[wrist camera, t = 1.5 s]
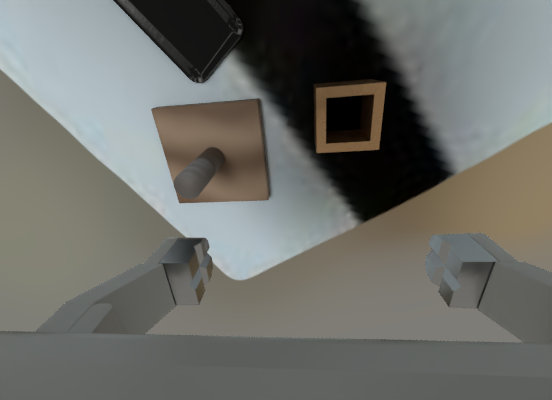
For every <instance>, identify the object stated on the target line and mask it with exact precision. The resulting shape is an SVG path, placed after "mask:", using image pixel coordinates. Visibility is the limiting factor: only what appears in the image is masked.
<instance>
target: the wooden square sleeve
mask: <svg viewBox="0 0 552 400" xmlns="http://www.w3.org/2000/svg"><path fill="white" fill-rule="evenodd" d="M385 89H386V82H383V81H379V80H374V79H366V80H354V81H343V82H331V83H320V84H314V140H315V146H316V152H317V153H328V152H346V151H365V150H379V145H380V136H381V127H382V117H383V108H384V99H385ZM358 95H362V103H361V118H360V129H356V130H340V131H326V98H333V97H346V96H358Z"/></svg>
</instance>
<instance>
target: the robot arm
mask: <svg viewBox="0 0 552 400" xmlns="http://www.w3.org/2000/svg"><path fill="white" fill-rule="evenodd" d="M429 246H430V247H431V249H432V251H431V252H430V253H429V254H428V255H427V256H426V261H425V265H426V272H427V275H428V277H429V279H430V280H431V281H432V282H433V283H434V284H436V285H438V286H439V287H440V288H439V293H440V295H441V296H442V298H443V299H444V301H445V302H446V304H447V305H448V306H449V307H450V308H477V309H478V310H479V311H480V312H482V313H483V314H484V315H486V316H487V317H489V318H490V319H492V320H493V321H494V322H496V323H497V324H499V325H500V326H501V327H503V328H504V329H506V330H507V331H509V332H510V333H511V334H513V335H514V336H516V337H517V338H518V339H520V340H521V341H523V342H524V343H514V342H511V343H510V342H469V341H427V340H424V341H423V340H386V339H384V340H383V339H339V338H292V337H291V338H290V337H244V336H243V337H242V336H198V335H154V334H145V333H146V332H147V331H149V330H150V329H151V328H152V327H153V326H154V325H155V324H157V323H158V322H159V321H160V320H161V319H162V318H163V317H164V316H166V314H168V313H169V312H170V311H171V310H172V309H173V308H175V307H176V305H199V304H200V301H201V299H202V297H203V295H204V292H205V287H204V285H205V284H207V283H208V282H209V281H210V279H211V276H212V270H213V262H212V257H211V256H210V255H209V254H208V253H207V251H208V249H209V244H208V240H207V239H206V238H166V239H165V240H164V241H163V242H162V243H161V244H160V246H159V247H158V248H157V249H156V250H155V252H154V253H153V254H152V255H151V256H150V257H149V259H148V260H147V261H146V262H145V263H144V264H139V265H137V266H135V267H133V268H131V269H129V270H127V271H126V272H123V273H121V274H119V275H117V276H116V277H114V278H112V279H110V280H108V281H106V282H104V283H102V284H101V285H98V286H96V287H94V288H92V289H90V290H88V291H87V292H85V293H83V294H81V295H79V296H77V297H75V298H73V299H71V300H69V301H67V302H66V303H65V304H64V305H63V306H61V307H60V308H59V309H58V310H57V311H56V312H55V313H54V314H53V315H52V316H51V317H50V318H49V319H48V320H47V321H46V322H45V323H44V324H42V325H41V326H40V327H39V328H38V329H37V330H36V331H35V332H23V331H22V332H21V331H0V400H552V272H549V271H546V270H544V269H541V268H539V267H536V266H533V265H531V264H528V263H526V262H519V261H517V260H516V259H515V258H514V257H512V256H511V255H510V254H509V253H507V252H506V251H505V250H503V249H502V248H501V247H500V246H499V245H497V244H496V243H495V242H494V241H492V240H491V239H490V238H489V237H487V236H486V235H485V234H482V233H468V234H444V235H433V236H432V237H431V239H430V242H429Z"/></svg>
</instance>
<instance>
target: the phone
mask: <svg viewBox="0 0 552 400" xmlns="http://www.w3.org/2000/svg"><path fill="white" fill-rule="evenodd" d="M114 1H115V2H116V3H117V5H118V6H119V7H120V8H121V9H122V10H123V11H124V12H125V13H126V14H127V15H128V16H129V17H130V18H131V19H132V20H133V21H134V22H135V23H136V24H137V25H138V26H139V27H140V28H141V29H142V30H143V31H144V32H145V33H146V34H147V35H148V36H149V38H150V39H151V40H152V41H153V42H154V43H155V44H156V45H157V46H158V47H159V48H160V49H161V50H162V51H163V52H164V53H165V54H166V55H167V56H168V57H169V58H170V59H171V60H172V61H173V62H174V63H175V64H176V65H177V66H178V67H179V68H180V69H181V70H182V72H183V73H184V74H185V75H186V76H187V77H188V78H189V79H190V80H192V81H193V82H196V83H200V82H204V81H205V80H207V79H208V77H209V76H210V75H211V74H212V73H213V71H214V70H215V69H216V68H217V66H218V65H219V64H220V63H221V62H222V60H223V59H224V58H225V57H226V55H227V54H228V53H229V52H230V51H231V49H232V48H233V47H234V46H235V45H236V43H237V42H238V41H239V40H240V38H241V37H242V35H243V24H242V21H241V20H240V18H239V17H238V16H237V15H236V13H235V12H234V11H233V9H232V7H231V6H230V5H228V4H227V3H226V1H225V0H114Z"/></svg>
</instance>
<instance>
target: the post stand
mask: <svg viewBox="0 0 552 400" xmlns="http://www.w3.org/2000/svg"><path fill="white" fill-rule="evenodd" d="M151 110H152V114H153V117H154V120H155V124H156V127H157V130H158V134H159V137H160V140H161V143H162V147H163V150H164V153H165V157H166V160H167V163H168V167H169V170H170V173H171V177H172V180H173V183H174V187H175V190H176V193H177V197H178V200H179V203H199V202H228V201H257V200H269V195H270V193H269V184H268V175H267V166H266V157H265V147H264V138H263V129H262V120H261V111H260V101H259V99H248V100H236V101H224V102H212V103H199V104H187V105H175V106H163V107H156V108H153V109H151Z"/></svg>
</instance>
